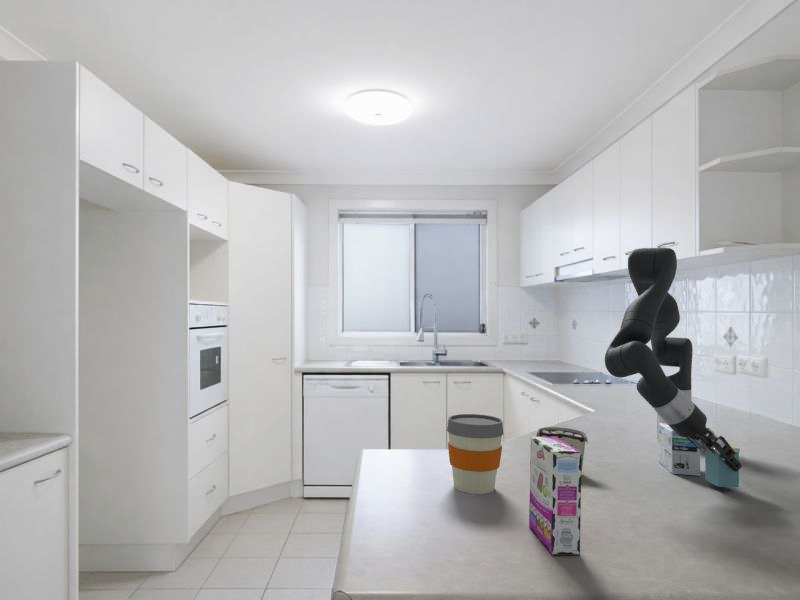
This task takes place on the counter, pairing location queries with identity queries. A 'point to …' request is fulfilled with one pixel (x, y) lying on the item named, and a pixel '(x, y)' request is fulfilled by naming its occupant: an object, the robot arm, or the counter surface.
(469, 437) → the reusable coffee cup
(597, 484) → the counter surface
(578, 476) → the candy bar box
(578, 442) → the food container
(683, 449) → the light bulb box
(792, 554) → the counter surface
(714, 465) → the tea tin
